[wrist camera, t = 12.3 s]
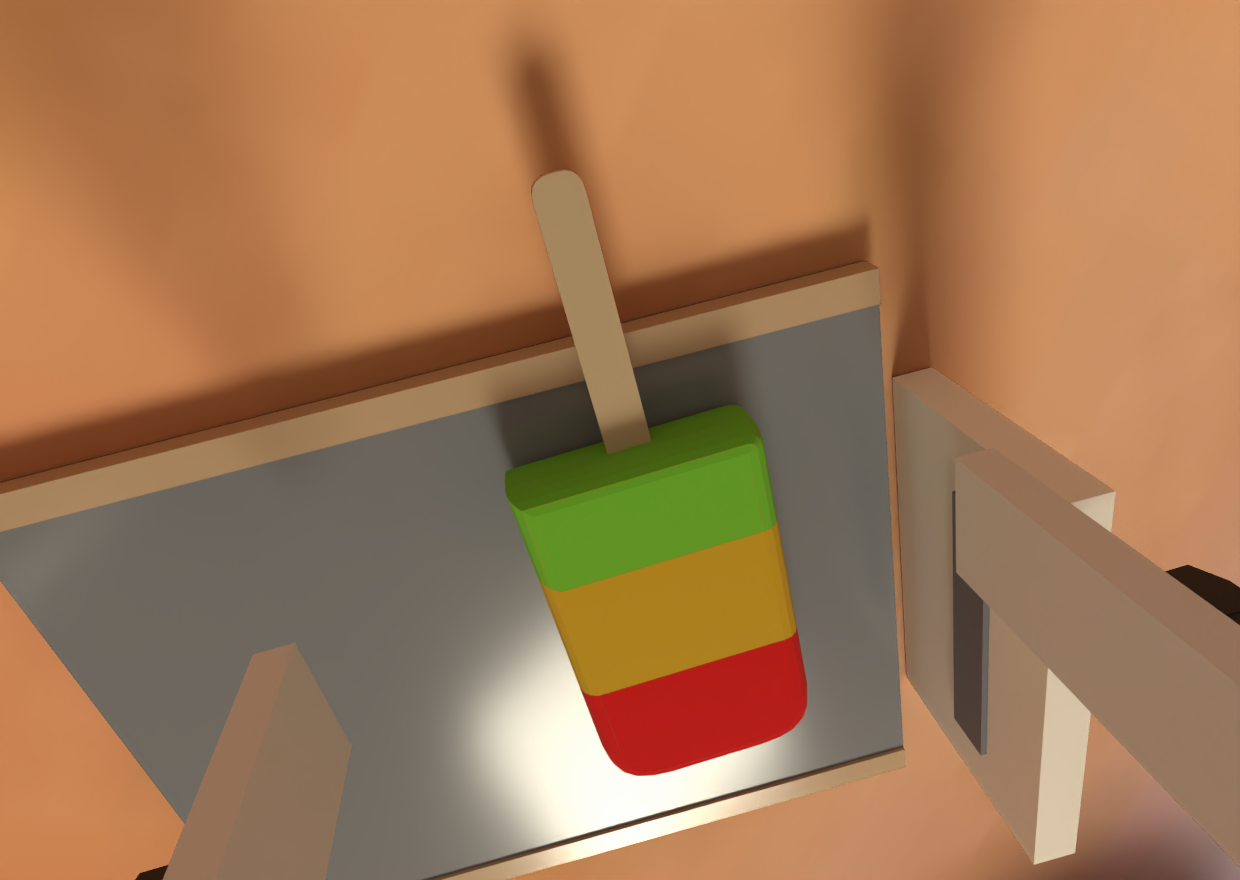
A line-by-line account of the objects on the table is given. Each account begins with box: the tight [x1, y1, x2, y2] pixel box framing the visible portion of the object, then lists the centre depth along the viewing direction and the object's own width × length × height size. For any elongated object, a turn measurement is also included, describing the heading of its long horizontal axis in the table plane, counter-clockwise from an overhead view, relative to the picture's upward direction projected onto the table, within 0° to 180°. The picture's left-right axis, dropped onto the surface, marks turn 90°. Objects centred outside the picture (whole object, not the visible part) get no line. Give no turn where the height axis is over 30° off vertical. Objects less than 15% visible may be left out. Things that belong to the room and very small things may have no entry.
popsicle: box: [505, 169, 808, 776], centre depth 17 cm, size 6×15×2 cm, turn 14°
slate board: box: [0, 261, 906, 880], centre depth 20 cm, size 20×16×1 cm
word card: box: [892, 367, 1116, 865], centre depth 18 cm, size 1×10×6 cm, turn 12°
